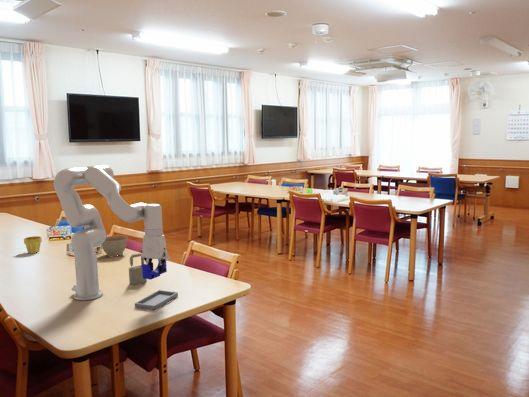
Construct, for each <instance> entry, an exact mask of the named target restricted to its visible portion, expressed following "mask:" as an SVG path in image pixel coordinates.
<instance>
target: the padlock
mask: <svg viewBox="0 0 529 397" xmlns="http://www.w3.org/2000/svg"><path fill="white" fill-rule="evenodd" d="M141 254H142V252H141V253H140V252H139V253H136V254H131V256H130V257H129V264H130V266H131V267H129V268H128V277H129V278H128V279H129V280H128V282H129V285H131V286H134V285H135V286H136V285H140V284H144V283H146V282H147V280H148V279H144V278H143V272H142V265H143V264H145V260H144V259H143V258H142V257H141ZM138 257H140V263H141V265H135V266H134V258H138Z"/></svg>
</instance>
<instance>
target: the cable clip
mask: <svg viewBox="0 0 529 397" xmlns="http://www.w3.org/2000/svg"><path fill="white" fill-rule="evenodd" d="M157 262H158V261H157ZM158 265H159V262H158V263H157V266H156V267H155V269H153V271H152V270H151V268H150V265H148V264H146V263H144V264H143V265H142V272H143V278H144V279H147V280H154V279H156V278H159V277H160V276H161V275H162V274H165V273H167V271H168V270H167V261H166V262H165V264H164V272H163V273H161V274H159V273H158Z"/></svg>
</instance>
